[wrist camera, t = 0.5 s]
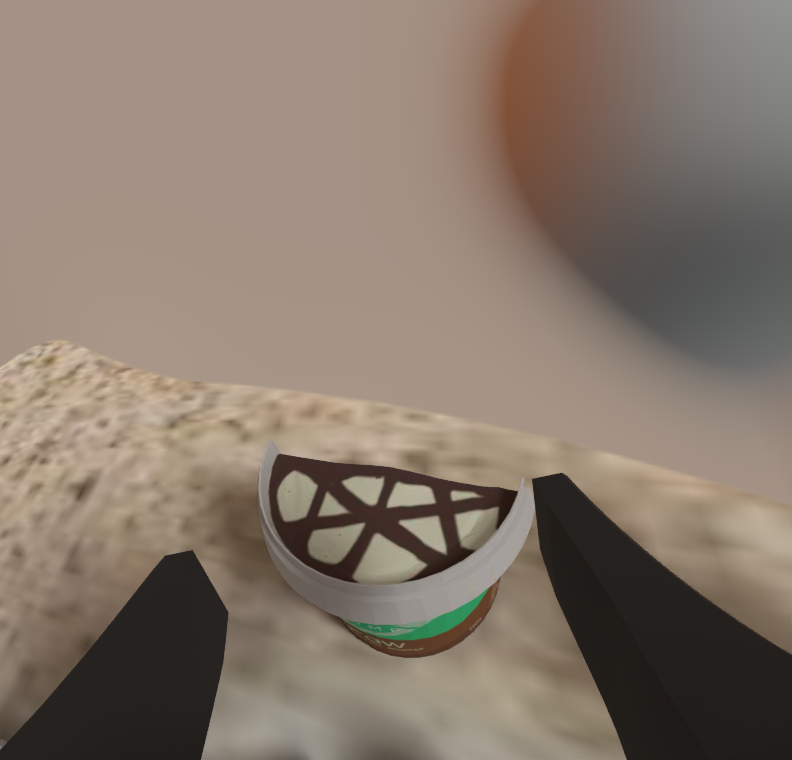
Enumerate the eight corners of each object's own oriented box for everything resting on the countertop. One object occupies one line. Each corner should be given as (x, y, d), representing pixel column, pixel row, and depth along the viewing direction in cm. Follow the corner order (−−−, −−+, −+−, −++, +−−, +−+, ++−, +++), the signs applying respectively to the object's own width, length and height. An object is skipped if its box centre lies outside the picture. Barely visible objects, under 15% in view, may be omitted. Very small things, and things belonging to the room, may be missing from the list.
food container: (270, 649, 28) (190, 564, 21) (313, 540, 32) (259, 437, 25) (513, 716, 24) (518, 641, 17) (528, 584, 28) (538, 479, 21)
